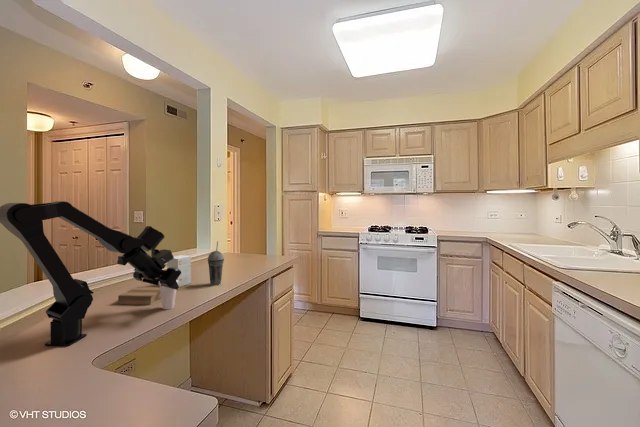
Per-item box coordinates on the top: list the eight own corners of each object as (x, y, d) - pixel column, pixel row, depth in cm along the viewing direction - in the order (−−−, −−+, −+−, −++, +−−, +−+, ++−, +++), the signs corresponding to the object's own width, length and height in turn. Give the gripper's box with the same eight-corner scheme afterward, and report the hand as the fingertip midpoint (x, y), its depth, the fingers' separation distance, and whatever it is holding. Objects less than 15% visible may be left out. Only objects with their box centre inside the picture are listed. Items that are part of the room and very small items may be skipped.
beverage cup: (203, 285, 138) (204, 242, 138) (213, 281, 145) (214, 240, 145) (217, 287, 136) (217, 243, 135) (226, 283, 143) (227, 241, 142)
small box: (180, 282, 143) (180, 254, 143) (191, 283, 141) (191, 255, 141) (166, 286, 136) (166, 257, 135) (177, 287, 134) (177, 258, 133)
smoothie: (170, 311, 105) (170, 271, 104) (153, 309, 106) (154, 270, 106) (181, 305, 111) (182, 267, 111) (166, 303, 112) (166, 266, 112)
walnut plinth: (150, 304, 112) (150, 296, 111) (118, 303, 112) (118, 295, 111) (167, 294, 124) (167, 287, 123) (137, 294, 124) (137, 286, 123)
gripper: (176, 245, 100) (202, 271, 110) (141, 240, 109) (169, 266, 119) (154, 273, 93) (184, 298, 104) (118, 266, 102) (149, 290, 112)
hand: (171, 287), depth 110 cm, fingers closed on smoothie, 6 cm apart
